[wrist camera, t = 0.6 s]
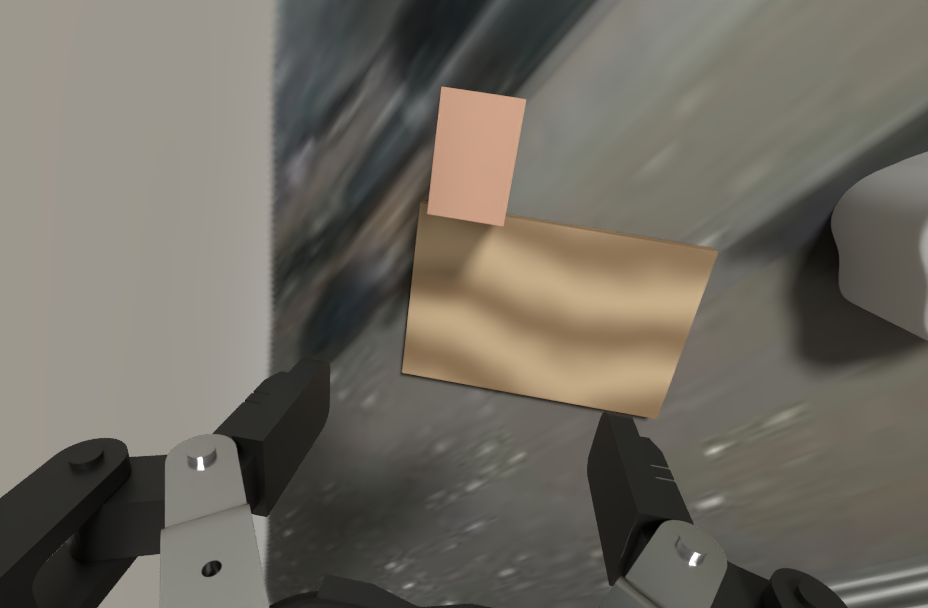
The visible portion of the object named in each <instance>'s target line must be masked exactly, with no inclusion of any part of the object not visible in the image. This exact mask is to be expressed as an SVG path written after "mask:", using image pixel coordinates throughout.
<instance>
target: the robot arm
mask: <svg viewBox="0 0 928 608" xmlns="http://www.w3.org/2000/svg"><path fill="white" fill-rule="evenodd" d="M329 406H330V365H329V363H328V362H323V361H317V360H312V359H306V358H302V359H301V360H300V361H299V362H298V363H297V364H296V365H295V366H294V367H293V368H292V370H291V371H290V372H289V373H287V372H279V373H277V374H275V375H273V376H271V377H269V378H267V379H265V380H264V381H263V382H262V383H261V384H260V385H259V386H258V387H257V388H256V389H255V390H254V393H251V394H250V395H249V397H248V398H247V399H246V400H245V402H243V403H242V404H241V405H240V406H239V407H238V408H237V409H236V410H235V411H234V412H233V413H232V414H231V415H230V416H229V417H228V418H227V419H226V420H225V421H224V422H223V423H222V424H221V425H220V426H219V427H218V428H217V430H216V431H215V432H214V433H213V434H206V435H200V436H196V437H193V438H190V439H188V440H186V441H183V442H182V443H180V444H179V445H177V446H176V447H174V448H173V449H172V450H171V451H170V453H169V454H168V455H157V456H142V457H141V456H140V457H129V454H128V449H127V446H126V445H125V444H124V443H123V442H122V441H120V440H117V439H112V438H99V439H92V440H87V441H83V442H80V443H78V444H75V445H72V446H70V447H68V448H66V449H64V450H62V451H61V452H59V453H58V454H56V455H55V456H53V457H52V458H51V459H50V460H48V461H47V462H46V463H45V464H43V465H42V466H41V467H39V468H38V469H37V470H36V471H35V472H33V473H32V474H31V475H29V476H28V477H27V478H25V479H24V480H23V481H22V482H20V483H19V484H18V485H17V486H15V487H14V488H13V489H11V490H10V491H9V492H8V493H6V494H5V495H4V496H2V497H1V498H0V608H97V607H98V606H99V604H100V603H101V602H102V601H103V599H104V598H105V597H106V596H107V595H108V593H109V592H110V591H111V590H112V588H113V587H114V586H115V585H116V583H117V582H118V581H119V579H120V578H121V577H122V576H123V574H124V573H125V572H126V571H127V569H128V568H129V567H130V566H131V564H132V563H133V562H134V560H135V559H136V558H137V557H138V556H144V555H154V554H160V608H490V607H485V606H480V605H475V604H460V605H445V606H431V607H419V606H416V605H413V604H411V603H409V602H407V601H405V600H403V599H401V598H399V597H398V596H396V595H394V594H392V593H390V592H388V591H386V590H384V589H382V588H380V587H378V586H376V585H374V584H370V583H365V582H360V581H355V580H351V579H346V578H341V577H336V576H331V575H325V577H324V580H323V582H322V585H321V587H320V589H319V591H315V592H308V593H302V594H298V595H295V596H292V597H288V598H286V599H283V600H281V601H279V602H276V603H274V604H272V605H270V606H269V603H268V598H267V593H266V588H265V583H264V577H263V572H262V567H261V562H260V557H259V551H258V546H257V541H256V536H255V530H254V525H253V520H252V515H251V514H254V515H259V516H264V517H267V516H268V515H269V513H270V511H271V510H272V508H273V507H274V505H275V504H276V502H277V500H278V499H279V497H280V496H281V494H282V492H283V491H284V489H285V488H286V486H287V484H288V483H289V481H290V480H291V478H292V477H293V475H294V473H295V472H296V470H297V469H298V467H299V465H300V464H301V462H302V461H303V459H304V457H305V456H306V454H307V453H308V451H309V450H310V448H311V446H312V445H313V443H314V442H315V440H316V438H317V437H318V435H319V434H320V432H321V430H322V429H323V427H324V425H325V423H326V420H327V417H328V413H329ZM587 475H588V481H589V486H590V491H591V496H592V501H593V506H594V511H595V516H596V521H597V526H598V531H599V536H600V541H601V546H602V551H603V556H604V561H605V566H606V571H607V576H608V581H609V585H610V586H613V587H612V589H611V590H610V592H609V593H608V594H607V596H606V597H605V599H604V600H603V602H602V603H601V605H600V606H599V607H598V608H848V607H847V606H846V605H845V603H844V602H843V601H842V600H841V599H840V598H839V597H838V596H837V595H836V594H835V593H834V592H833V591H832V590H831V589H830V588H828V587H827V586H826V585H824V584H823V583H822V582H820V581H819V580H817V579H815V578H814V577H812V576H810V575H808V574H806V573H804V572H801V571H798V570H795V569H790V568H782V569H778V570H776V571H775V572H774V573H773V575H772V576H771V578H770V580H767V579H765V578H763V577H760V576H758V575H756V574H754V573H751V572H749V571H747V570H745V569H743V568H740V567H738V566H736V565H734V564H732V563H730V562H728V561H727V560H726V556H725V554H724V552H723V550H722V549H721V547H720V546H719V545H718V543H717V542H716V541H715V540H714V539H713V538H712V537H711V536H710V535H708V534H707V533H706V532H704V531H703V530H702V529H700V528H698V527H696V526H694V524H693V521H692V519H691V517H690V515H689V512H688V510H687V508H686V505H685V503H684V501H683V499H682V496H681V494H680V492H679V490H678V487H677V485H676V483H675V482H674V478H673V476H672V474H671V471H670V470H668V464H667V462H666V460H665V458H664V455H663V453H662V452H661V450H660V449H659V448H658V447H657V446H656V445H655V444H654V443H653V442H652V441H651V440H650V439H649V438H646V437H640V436H639V433H638V431H637V428H636V425H635V423H634V420H633V418H632V417H630V416H624V415H619V414H613V413H607V412H604V413H603V414H602V416H601V418H600V421H599V424H598V427H597V431H596V434H595V437H594V440H593V443H592V447H591V450H590V453H589V457H588V464H587ZM52 554H53V555H52Z"/></svg>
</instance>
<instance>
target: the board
mask: <svg viewBox="0 0 928 608" xmlns="http://www.w3.org/2000/svg"><path fill="white" fill-rule="evenodd" d="M428 202H429V201H422V202H421V203H420V209H419V218H418V228H417V237H416V246H415V256H414V265H413V274H412V284H411V293H410V303H409V312H408V321H407V331H406V340H405V349H404V359H403V368H402V373H406V374H412V375H417V376H423V377H428V378H434V379H439V380H445V381H450V382H456V383H461V384H467V385H472V386H478V387H483V388H489V389H494V390H500V391H505V392H511V393H516V394H522V395H527V396H533V397H538V398H544V399H549V400H555V401H560V402H566V403H571V404H577V405H582V406H588V407H593V408H598V409H604V410H609V411H615V412H620V413H626V414H631V415H637V416H642V417H648V418H653V419H657V418H658V415H659V412H660V410H661V407H662V404H663V401H664V399H665V396H666V393H667V391H668V388H669V385H670V382H671V380H672V377H673V374H674V371H675V369H676V366H677V363H678V361H679V358H680V355H681V352H682V350H683V347H684V344H685V342H686V339H687V336H688V333H689V331H690V328H691V325H692V322H693V320H694V317H695V314H696V312H697V309H698V306H699V303H700V301H701V298H702V295H703V293H704V290H705V287H706V284H707V282H708V279H709V276H710V274H711V271H712V268H713V265H714V263H715V260H716V257H717V254H718V251H716V250H714V249H712V248H709V247H703V246H697V245H691V244H685V243H679V242H673V241H667V240H661V239H655V238H648V237H642V236H636V235H630V234H624V233H618V232H612V231H606V230H600V229H594V228H588V227H581V226H575V225H569V224H563V223H557V222H551V221H545V220H539V219H533V218H527V217H521V216H515V215H508V214H506V215H505V221H504V226H497V225H491V224H485V223H479V222H473V221H467V220H461V219H455V218H449V217H443V216H437V215H431V214H427V211H428Z"/></svg>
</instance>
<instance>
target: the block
mask: <svg viewBox="0 0 928 608" xmlns="http://www.w3.org/2000/svg"><path fill="white" fill-rule="evenodd" d="M525 104H526V99H520V98H514V97H507V96H501V95H494V94H487V93H481V92H474V91H468V90H461V89H455V88H448V87H442V88H441V97H440V105H439V114H438V123H437V132H436V140H435V149H434V158H433V167H432V176H431V184H430V193H429V202H428V211H427V214H431V215H437V216H443V217H449V218H455V219H461V220H467V221H473V222H479V223H485V224H491V225H497V226H504V221H505V215H506V210H507V204H508V199H509V193H510V187H511V182H512V176H513V171H514V165H515V159H516V154H517V148H518V143H519V137H520V132H521V126H522V120H523V115H524V109H525Z"/></svg>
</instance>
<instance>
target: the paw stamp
mask: <svg viewBox="0 0 928 608" xmlns="http://www.w3.org/2000/svg"><path fill="white" fill-rule="evenodd" d="M831 229H832V233H833V236H834V239H835V242H836V245H837V248H838V252H839V288H840V291H841V294H842V295H843V297H844V298H845V299H846V300H848V301H849V302H851V303H853V304H855V305H857V306H859V307H861V308H863V309H865V310H867V311H869V312H871V313H873V314H875V315H877V316H879V317H881V318H883V319H885V320H887V321H889V322H891V323H893V324H895V325H897V326H899V327H901V328H903V329H905V330H907V331H909V332H911V333H913V334H915V335H917V336H919V337H921V338H923V339H925V340H927V341H928V152H925V153H922V154H919V155H916V156H914V157H911V158H908V159H905V160H903V161H901V162H898V163H896V164H894V165H891V166H889V167H886V168H884V169H881V170H879V171H877V172H875V173H873V174H871V175H869V176H867V177H865V178H863V179H862V180H860V181H859V182H857V183H856V184H855V185H854V186H852V187H851V188H850V189H849V190H848V191H847V192H846V193H845V194H844V195H843V196H842V198H841V199H840V200H839V202H838V203H837V205H836V206H835V208H834V211H833V213H832V217H831Z"/></svg>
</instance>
